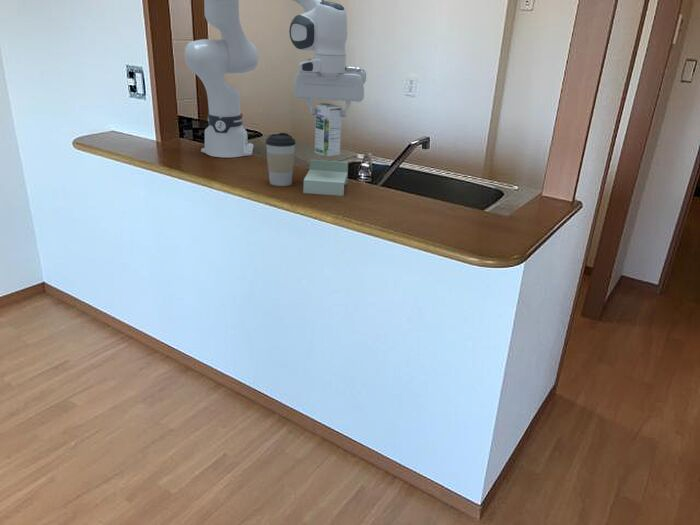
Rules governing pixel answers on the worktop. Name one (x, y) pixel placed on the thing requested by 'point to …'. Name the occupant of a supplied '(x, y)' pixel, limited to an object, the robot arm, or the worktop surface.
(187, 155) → the worktop surface
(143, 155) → the worktop surface
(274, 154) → the coffee cup
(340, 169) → the shelf
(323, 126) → the syrup box
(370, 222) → the worktop surface
